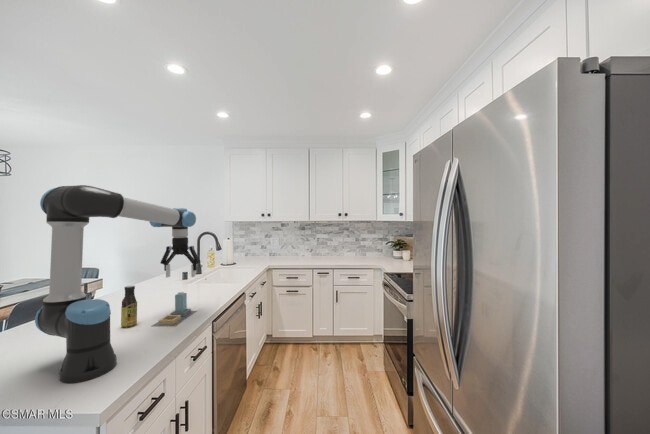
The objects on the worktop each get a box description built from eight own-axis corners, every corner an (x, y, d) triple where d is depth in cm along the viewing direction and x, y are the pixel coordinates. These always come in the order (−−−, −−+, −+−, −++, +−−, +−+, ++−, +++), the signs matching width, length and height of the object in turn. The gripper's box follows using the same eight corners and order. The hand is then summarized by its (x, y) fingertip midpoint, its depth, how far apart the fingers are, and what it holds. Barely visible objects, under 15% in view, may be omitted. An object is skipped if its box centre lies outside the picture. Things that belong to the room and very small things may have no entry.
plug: (182, 315, 146) (182, 293, 146) (175, 315, 146) (175, 293, 146) (186, 313, 150) (186, 291, 150) (179, 313, 150) (179, 291, 150)
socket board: (175, 328, 132) (175, 322, 132) (150, 328, 133) (150, 322, 133) (197, 312, 154) (197, 307, 154) (176, 312, 155) (176, 307, 155)
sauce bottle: (128, 330, 130) (128, 288, 130) (117, 330, 131) (117, 287, 131) (140, 325, 136) (140, 285, 136) (129, 324, 138) (129, 284, 138)
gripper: (206, 236, 152) (207, 275, 152) (161, 236, 152) (161, 275, 152) (200, 237, 144) (200, 278, 145) (152, 237, 145) (153, 278, 145)
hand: (180, 276), depth 149 cm, fingers open, 13 cm apart
